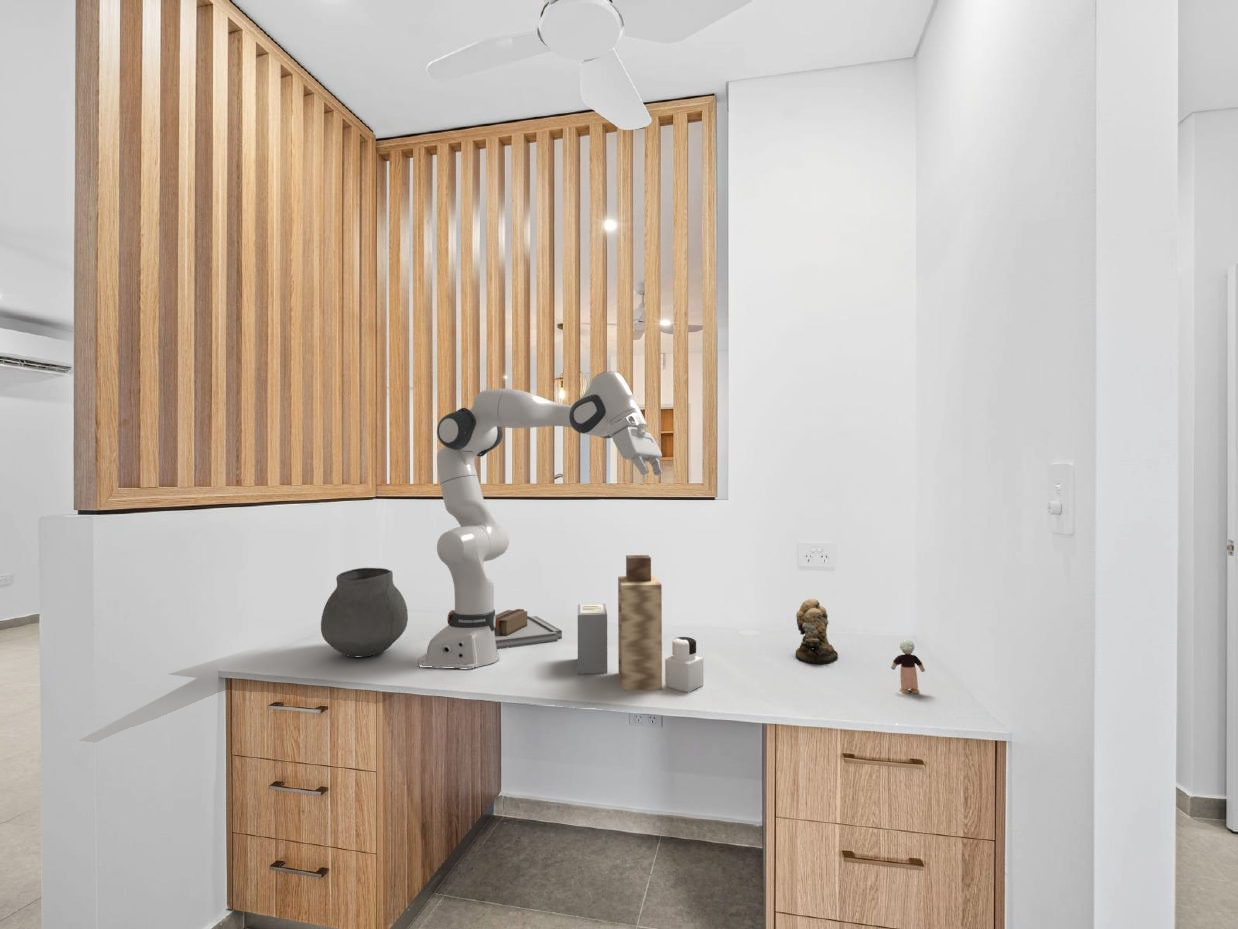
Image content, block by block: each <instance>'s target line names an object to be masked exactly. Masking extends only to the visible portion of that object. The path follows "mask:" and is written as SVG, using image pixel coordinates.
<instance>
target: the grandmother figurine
mask: <svg viewBox="0 0 1238 929" xmlns="http://www.w3.org/2000/svg"><path fill="white" fill-rule="evenodd" d="M915 647H916V646H915V644H914V642H913V641H912V640H910V639H904V640H901V642H900V643H899V648H900V649H899V650H901V651H902V653H904V654H899V655H897V656H896V657H895V658H894V660H893V661H892V665H891V666H890V668H891V670H896V669H897V668H896V667H897V666H899V665H900V688H899V691H900V693H903V694H910V692H911V693H912V694H919V693H920V689H919V685H918V684H919V682H918V674H917V668H916V666H917V667H918V668H919V669H920V670H919V671H920V672H922V673H924V672H926V669H925V667H924V665H923V662H922V661H921V659H919V657H918V656H917V655H915V654H913V652H914V650H915ZM909 690H910V691H909Z"/></svg>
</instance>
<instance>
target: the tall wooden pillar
mask: <svg viewBox="0 0 1238 929" xmlns="http://www.w3.org/2000/svg"><path fill="white" fill-rule="evenodd" d="M617 577H618V578H617V580H618V581H617V587H618V588H617V594H618V597H617V600H618V602H617V606H618V608H617V614H618V617H617V619H618V620H617V621H618V622H617V623H618V624H617V626H618V629H617V630H618V635H617V636H618V637H617V638H618V639H617V640H618V644H617V645H618V647H617V648H618V662H617V664H618V666H617V667H618V669H617V671H618V678H619V681H620V682H619V683H620V687H621V691H644V690H645V691H646V690H648V691H649V690H653V691H655V690H663V653H662V652H663V641H662V640H663V636H662V635H663V634H662V632H663V630H662V629H663V627H662V625H663V624H662V621H663V620H662V618H663V617H662V615H663V614H662V607H663V606H662V605H663V604H662V600H663V599H662V587H663V586H662V584H661V582H660V581H659V580H658V578H657V577H656V576H655V575H651V581H634V582H628V581H627V579H626V575H624V576H620V575H619V576H617Z"/></svg>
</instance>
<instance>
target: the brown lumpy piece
mask: <svg viewBox="0 0 1238 929" xmlns="http://www.w3.org/2000/svg"><path fill="white" fill-rule="evenodd" d="M795 617H796V625H797V629H798V631H799V633H800V635H802V636H803V637H802V641H801V642H800V645H799V648H797V649H796V650H795V658H796V657H797V658H796V659H797V660H799V662H802V661H803V662H805V663H806V664H808V663H814V664H815V663H816V664H820V665H828V664H832V663H834V662H835V661H837V660H838V657H839V655H838V652H837V651H836V650H835V648H834V647H833V645H832V644H830V643H829V640H828V637H827V634H828V633H827V630H828V625H829V618H828V617H829V616H828V613H827V610H826V607H823V605H820V602H819V601H818V600H817V599H816V598H811V599H807V600H805V601H803V602H802V603H801V604H800V608H799V609H798V610H797V612H796V616H795ZM831 662H832V663H831Z"/></svg>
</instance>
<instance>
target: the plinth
mask: <svg viewBox="0 0 1238 929" xmlns="http://www.w3.org/2000/svg"><path fill="white" fill-rule="evenodd" d="M577 674H578V675H583V674H584V675H585V674H590V675H591V674H608V612H607V607H606V603H600V604H599V603H598V604H597V603H592V604H589V603H587V604H586V603H585V604H577Z"/></svg>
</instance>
